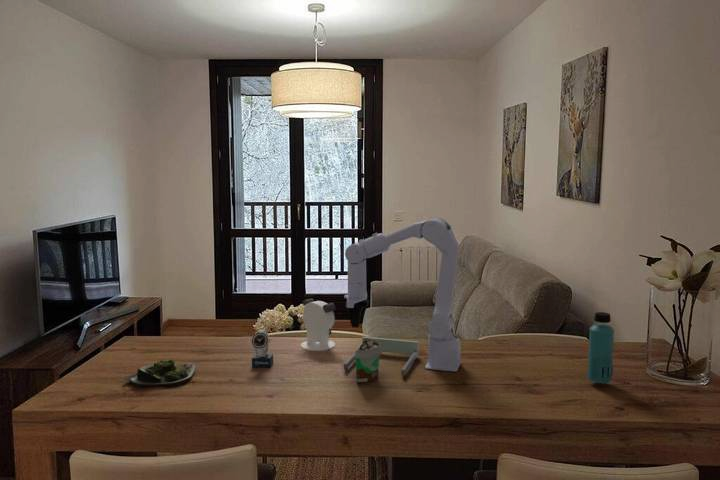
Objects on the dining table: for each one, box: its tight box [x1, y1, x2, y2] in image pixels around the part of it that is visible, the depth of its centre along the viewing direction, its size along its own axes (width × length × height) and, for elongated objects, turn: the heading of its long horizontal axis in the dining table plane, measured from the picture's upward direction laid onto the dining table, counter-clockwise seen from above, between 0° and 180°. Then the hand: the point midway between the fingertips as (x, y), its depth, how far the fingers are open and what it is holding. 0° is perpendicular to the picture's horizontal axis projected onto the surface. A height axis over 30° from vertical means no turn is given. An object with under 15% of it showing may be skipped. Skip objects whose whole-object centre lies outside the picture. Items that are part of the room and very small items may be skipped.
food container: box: [355, 338, 383, 385], centre depth 168 cm, size 12×6×10 cm, turn 168°
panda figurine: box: [300, 298, 336, 352], centre depth 198 cm, size 12×11×15 cm
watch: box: [251, 329, 274, 369], centre depth 179 cm, size 6×8×11 cm
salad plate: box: [124, 358, 196, 388], centre depth 172 cm, size 19×18×5 cm
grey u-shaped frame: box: [343, 336, 420, 378], centre depth 180 cm, size 18×19×5 cm
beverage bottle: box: [586, 311, 615, 384], centre depth 163 cm, size 6×7×20 cm
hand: (357, 325), depth 185 cm, fingers open, 3 cm apart
